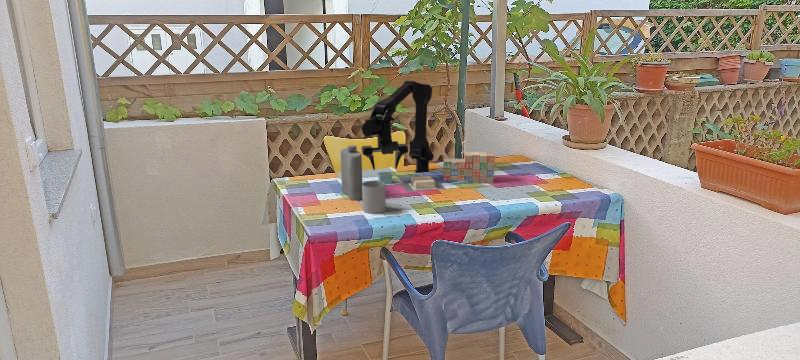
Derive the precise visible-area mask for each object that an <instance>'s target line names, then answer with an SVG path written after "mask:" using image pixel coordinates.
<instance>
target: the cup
mask: <svg viewBox="0 0 800 360" xmlns="http://www.w3.org/2000/svg"><path fill="white" fill-rule="evenodd" d="M386 210H387V208H386V184H385V183H384V182H382V181H378V180H368V181H364V182H362V212H363V211H364V212H363V213H365V214H368V213H369V214H371V215H375V214H376V215H377V214H382V213H385V212H386Z"/></svg>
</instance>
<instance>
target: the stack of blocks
mask: <svg viewBox="0 0 800 360" xmlns="http://www.w3.org/2000/svg"><path fill="white" fill-rule="evenodd" d="M495 159H496V155H495V153H494V152H487V151H465V152H464V158H447V157H445V158H443V166H442V167H443V168H442V169H443V170H442V173H443V176H442V177H443V178H442V180H443V181H450V182H451V181H454V182H456V181H457V182H458V181H459V182H461V181H462V182H465V181H466V182H468V183H469V184H491V185H492V184H494V183H495V182H494V180H495V166H496V165H495V163H496V162H495Z"/></svg>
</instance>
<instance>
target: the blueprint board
mask: <svg viewBox="0 0 800 360" xmlns="http://www.w3.org/2000/svg"><path fill="white" fill-rule="evenodd" d="M434 181H435V188H429V189H415V188H414V187H413V186H412V185H411V182H403V183H400V185H401V186H402V187H403V188H404V191H405V192H408V193H409V192H410V193H411V192H421V191H422V192H423V191H435V190H446V187H444V185H443V184H442V183H441V182H440V181H439V180H434Z"/></svg>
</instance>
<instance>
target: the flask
mask: <svg viewBox="0 0 800 360" xmlns="http://www.w3.org/2000/svg"><path fill="white" fill-rule="evenodd" d="M357 147H358V146H357V145H356V144H351V145H350V144H349V145H348V146H347V147H346V148H342V149H340V151H339V153H340V172H341V173H340V175H341V176H340V177H341V192H342V193H343V194H345V195H347V196H348V198H349V199H350V200H351V201H354V200H357V201H360V200H363V198H362V183H363V162H362V161H363V158H362V155H363V154H362V152H360V151H358V150H357V149H358V148H357Z"/></svg>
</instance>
